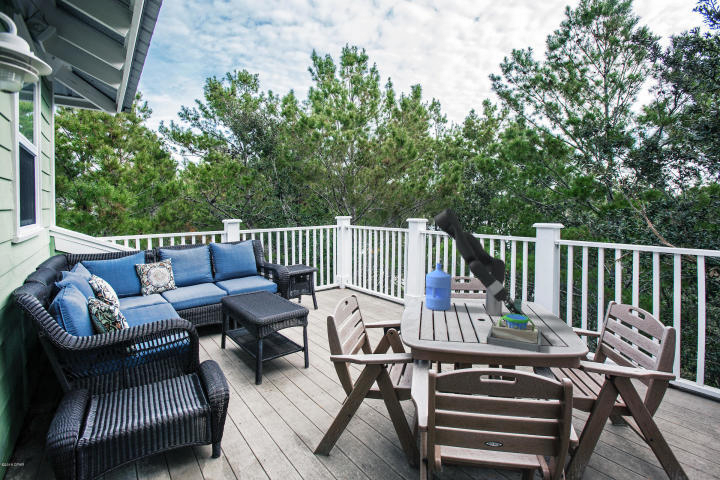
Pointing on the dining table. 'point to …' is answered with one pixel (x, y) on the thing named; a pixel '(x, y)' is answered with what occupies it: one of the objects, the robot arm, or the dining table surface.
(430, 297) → the water jug
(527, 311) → the dining table surface
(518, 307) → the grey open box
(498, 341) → the rectangular frame
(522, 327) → the snack cup
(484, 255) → the robot arm
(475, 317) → the dining table surface
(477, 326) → the dining table surface
